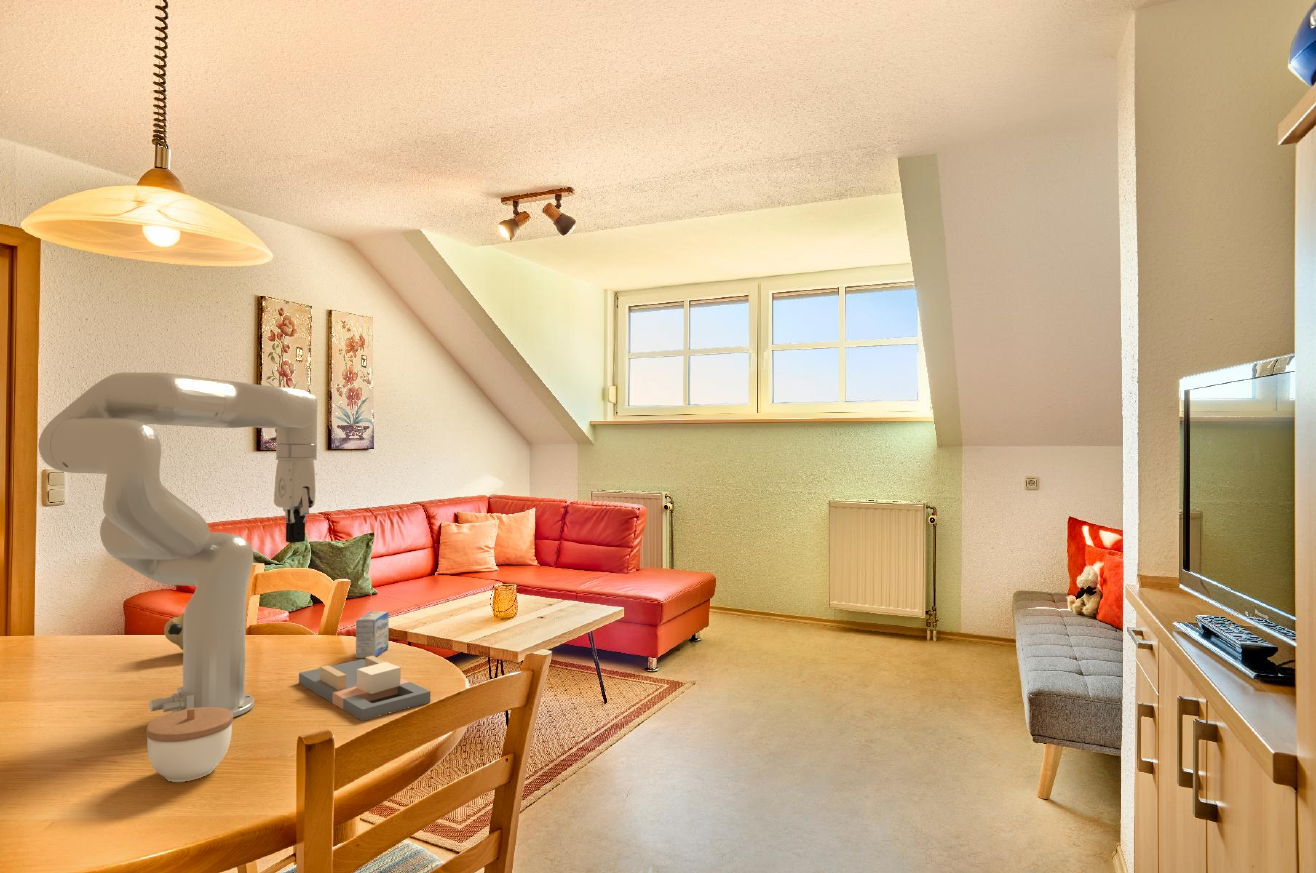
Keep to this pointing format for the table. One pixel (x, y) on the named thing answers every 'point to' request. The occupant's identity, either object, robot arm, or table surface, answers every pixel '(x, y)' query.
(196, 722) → the lidded jar
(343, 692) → the deck
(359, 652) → the medicine box
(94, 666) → the table surface
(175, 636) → the toy pig
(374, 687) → the block
